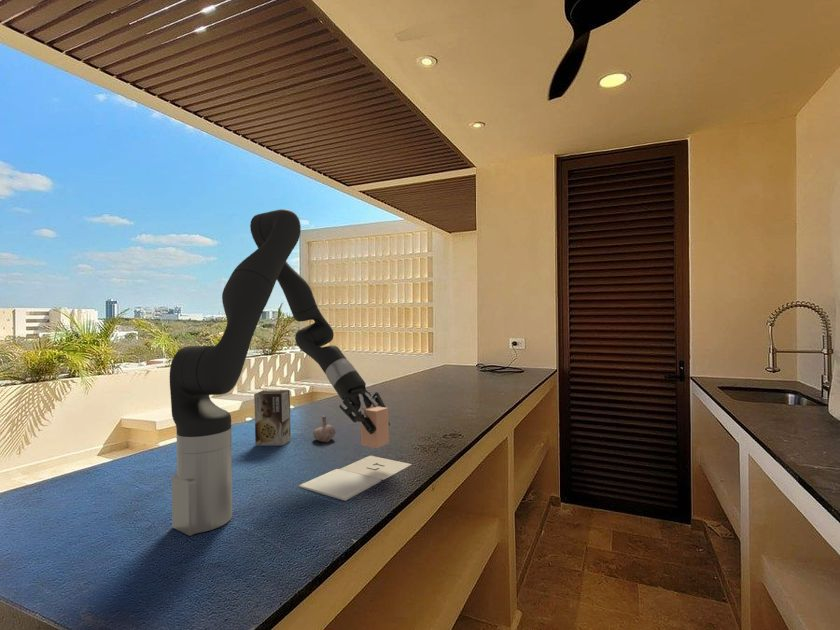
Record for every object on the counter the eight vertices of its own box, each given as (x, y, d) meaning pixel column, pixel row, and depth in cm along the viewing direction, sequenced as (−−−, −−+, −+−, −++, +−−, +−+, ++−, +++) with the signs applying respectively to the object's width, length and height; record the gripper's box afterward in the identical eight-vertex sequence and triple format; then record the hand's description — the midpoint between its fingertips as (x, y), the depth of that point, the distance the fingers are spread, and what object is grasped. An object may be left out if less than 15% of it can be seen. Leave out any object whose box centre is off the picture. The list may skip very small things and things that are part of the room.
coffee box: (291, 440, 131) (290, 389, 132) (282, 446, 125) (282, 393, 125) (264, 439, 132) (263, 389, 132) (254, 445, 126) (253, 393, 126)
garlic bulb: (329, 444, 126) (329, 418, 126) (307, 443, 128) (307, 417, 128) (339, 437, 133) (339, 412, 134) (318, 436, 135) (318, 412, 135)
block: (376, 447, 101) (376, 411, 102) (361, 445, 104) (360, 409, 104) (388, 442, 106) (388, 407, 106) (373, 440, 108) (373, 406, 109)
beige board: (345, 501, 85) (345, 498, 85) (299, 487, 93) (299, 485, 93) (380, 481, 95) (380, 479, 95) (336, 471, 103) (336, 468, 103)
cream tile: (383, 480, 96) (383, 479, 96) (339, 469, 104) (339, 469, 104) (411, 464, 106) (411, 464, 106) (370, 456, 114) (370, 455, 114)
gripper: (333, 372, 103) (371, 426, 97) (369, 367, 116) (405, 414, 109) (318, 392, 106) (354, 445, 99) (355, 385, 118) (389, 432, 111)
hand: (380, 429), depth 104 cm, fingers closed on block, 5 cm apart
